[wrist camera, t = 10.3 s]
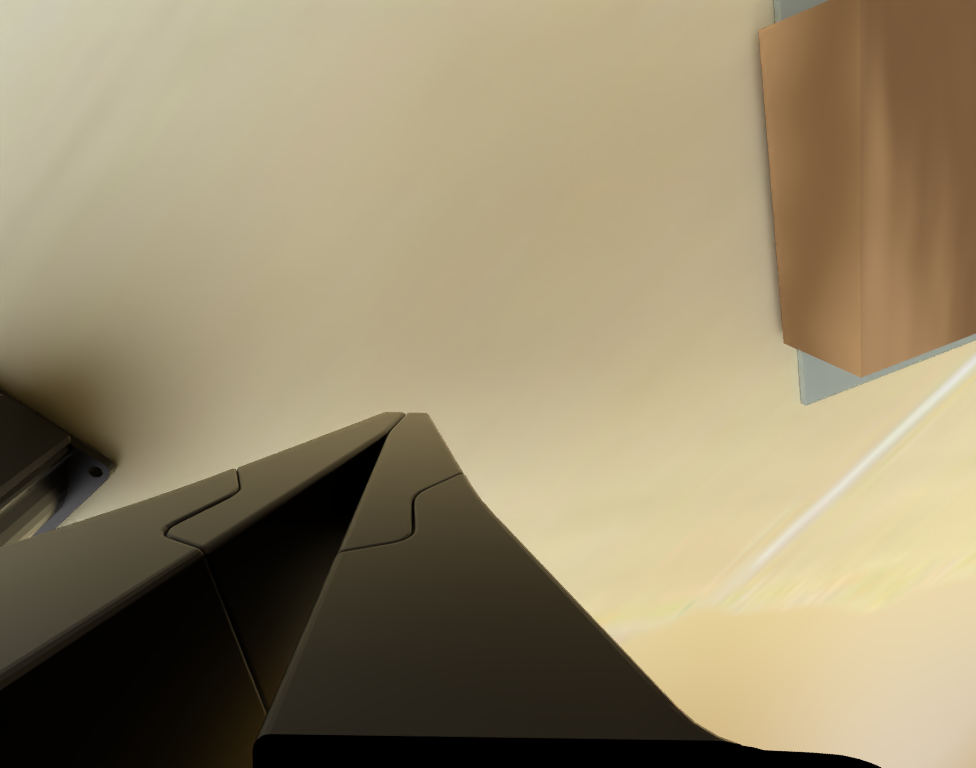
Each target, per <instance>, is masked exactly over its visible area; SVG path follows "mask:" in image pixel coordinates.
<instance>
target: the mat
mask: <svg viewBox="0 0 976 768" xmlns="http://www.w3.org/2000/svg"><path fill="white" fill-rule="evenodd" d="M826 1H828V0H774V10H775V23H777V22H779V21H781V20H784V19H786V18H788V17H791V16H793V15H795V14H798V13H800V12H802V11H805V10H807V9H809V8H812V7H814V6H816V5H819V4H821V3H824V2H826ZM975 340H976V334H973V335H971V336H968V337H966V338H963V339H960V340H958V341H955V342H953V343H950V344H947V345H945V346H942V347H940V348H937V349H934V350H932V351H929V352H927V353H924V354H921V355H919V356H916V357H914V358H911V359H908V360H906V361H903V362H901V363H898V364H895V365H893V366H890V367H888V368H885V369H882V370H880V371H877V372H875V373H872V374H870V375H867V376H864V377H862V378H860V377H858V376H856V375H854V374H852V373H849V372H847V371H845V370H843V369H840V368H838V367H836V366H834V365H831V364H829V363H827V362H825V361H823V360H820V359H818V358H816V357H814V356H811V355H809V354H807V353H805V352H802V351H800V350H798V364H799V379H800V393H801V403H802V404H804V405H805V406H806V405H809V404H812V403H814V402H817V401H819V400H822V399H825V398H827V397H830V396H832V395H835V394H837V393H840V392H843V391H845V390H848V389H850V388H853V387H856V386H858V385H861V384H863V383H866V382H869V381H871V380H874V379H876V378H879V377H882V376H884V375H887V374H889V373H892V372H895V371H897V370H900V369H902V368H905V367H908V366H910V365H913V364H915V363H918V362H920V361H923V360H926V359H928V358H931V357H933V356H936V355H939V354H941V353H944V352H946V351H949V350H952V349H954V348H957V347H959V346H962V345H965V344H967V343H970V342H972V341H975Z"/></svg>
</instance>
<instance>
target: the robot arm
mask: <svg viewBox="0 0 976 768" xmlns="http://www.w3.org/2000/svg"><path fill="white" fill-rule="evenodd" d="M95 467H98V468H100V469H101V470H102V471H103V472H101V471H98V470H97V469H96V468H95ZM114 472H115V465H114V463H113V462H112V461H111V460H110V459H109V458H107V457H105V456H104V455H102V454H101V453H99V452H98V451H96V450H94V449H93V448H91V447H90V446H88V445H87V444H85V443H84V442H82V441H80V440H79V439H77V438H76V437H74V436H73V435H71V434H69V433H68V432H66V431H65V430H63V429H62V428H60V427H59V426H57V425H55V424H54V423H52V422H51V421H49V420H48V419H46V418H44V417H43V416H41V415H40V414H38V413H37V412H35V411H33V410H32V409H30V408H29V407H27V406H26V405H24V404H23V403H21V402H19V401H18V400H16V399H15V398H13V397H12V396H10V395H8V394H7V393H5V392H4V391H2V390H1V389H0V768H881V767H879V766H877V765H874V764H872V763H869V762H866V761H863V760H860V759H856V758H852V757H848V756H843V755H835V754H834V755H833V754H823V753H809V752H789V751H768V750H761V749H758V748H754V747H747V746H742V745H740V744H737V743H735V742H732V741H730V740H727V739H724V738H722V737H719V736H717V735H716V734H714V733H712V732H711V731H709V730H707V729H706V728H704V727H702V726H700V725H699V724H697V723H695V722H694V721H693V720H692V719H691V718H690V717H688V716H687V715H686V714H685V713H684V712H683V711H682V710H681V709H679V708H678V707H677V706H676V705H675V704H674V703H673V702H672V700H670V698H669V697H668V696H667V695H666V694H665V693H664V692H663V691H662V690H661V689H660V688H659V687H658V686H657V685H656V684H655V683H654V682H653V681H652V680H651V678H650V677H649V676H648V675H647V674H646V673H645V672H644V671H643V670H642V669H641V668H640V667H639V666H638V665H637V664H636V663H635V662H634V661H633V660H632V658H631V657H630V656H629V655H628V654H627V653H626V652H625V651H624V650H623V649H622V648H621V647H620V646H619V645H618V644H617V643H616V642H615V641H614V640H613V639H612V637H611V636H610V635H609V634H608V633H607V632H606V631H605V630H604V629H603V628H602V627H601V626H600V625H599V624H598V623H597V622H596V621H595V620H594V619H593V618H592V616H591V615H590V614H589V613H588V612H587V611H586V610H585V609H584V608H583V607H582V606H581V605H580V604H579V603H578V602H577V601H576V600H575V599H574V598H573V597H572V595H571V594H570V593H569V592H568V591H567V590H566V589H565V588H564V587H563V586H562V585H561V584H560V583H559V582H558V581H557V580H556V579H555V578H554V577H553V576H552V574H551V573H550V572H549V571H548V570H547V569H546V568H545V567H544V566H543V565H542V564H541V563H540V562H539V561H538V560H537V559H536V558H535V557H534V556H533V555H532V553H531V552H530V551H529V550H528V549H527V548H526V547H525V546H524V545H523V544H522V543H521V542H520V541H519V540H518V539H517V538H516V537H515V536H514V535H513V534H512V532H511V531H510V530H509V529H508V528H507V527H506V526H505V525H504V524H503V523H502V522H501V521H500V520H499V519H498V518H497V517H496V516H495V515H494V513H493V512H492V511H491V510H490V509H489V508H488V507H487V505H486V504H485V503H484V502H483V501H482V500H481V498H480V497H479V496H478V494H477V493H476V491H475V490H474V488H473V487H472V485H471V484H470V482H469V480H468V479H467V477H466V476H465V475H464V473H463V472H462V470H461V468H460V467H459V465H458V463H457V462H456V460H455V458H454V456H453V455H452V453H451V451H450V450H449V448H448V446H447V445H446V443H445V441H444V440H443V438H442V436H441V435H440V433H439V431H438V430H437V428H436V426H435V425H434V423H433V421H432V420H431V418H430V416H429V415H428V414H427V413H407V414H404V413H402V412H385V413H382V414H379V415H377V416H374V417H371V418H369V419H366V420H363V421H361V422H358V423H355V424H353V425H350V426H347V427H345V428H342V429H340V430H337V431H334V432H332V433H329V434H326V435H324V436H321V437H318V438H316V439H313V440H310V441H308V442H305V443H302V444H300V445H297V446H294V447H292V448H289V449H286V450H284V451H281V452H279V453H276V454H273V455H271V456H268V457H265V458H263V459H260V460H257V461H255V462H252V463H249V464H247V465H244V466H241V467H239V468H238V469H237V471H236V469H231V470H228V471H226V472H223V473H220V474H218V475H215V476H212V477H210V478H207V479H204V480H201V481H198V482H196V483H193V484H190V485H187V486H185V487H182V488H179V489H176V490H173V491H170V492H167V493H164V494H161V495H158V496H155V497H152V498H150V499H147V500H144V501H141V502H138V503H135V504H132V505H129V506H126V507H122V508H119V509H116V510H113V511H110V512H107V513H104V514H101V515H98V516H95V517H92V518H89V519H85V520H82V521H79V522H76V523H73V524H70V525H67V526H64V527H61V528H58V529H55V528H56V527H58V526H59V525H60V524H61V523H62V522H63V521H64V520H65V519H66V518H67V517H68V516H69V515H70V514H71V513H72V512H73V511H75V510H76V509H77V508H78V507H79V506H80V505H81V504H82V503H83V502H84V501H85V500H86V499H87V498H88V497H89V496H90V495H91V494H93V493H94V492H95V491H96V490H97V489H98V488H99V487H100V486H101V485H102V484H103V483H104V482H105V481H106V480H107V479H108V478H109V477H110V476H111V475H112V474H113V473H114ZM54 529H55V530H54Z"/></svg>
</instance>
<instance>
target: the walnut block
mask: <svg viewBox="0 0 976 768" xmlns="http://www.w3.org/2000/svg"><path fill="white" fill-rule="evenodd" d="M759 41H760V53H761V66H762V78H763V91H764V103H765V116H766V128H767V140H768V153H769V165H770V178H771V190H772V203H773V215H774V227H775V240H776V252H777V265H778V277H779V290H780V302H781V315H782V327H783V339H784V343H785V344H787V345H789V346H791V347H794V348H796V349H798V350H800V351H802V352H805V353H807V354H809V355H811V356H814V357H816V358H818V359H820V360H823V361H825V362H827V363H829V364H831V365H834V366H836V367H838V368H840V369H843V370H845V371H847V372H849V373H852V374H854V375H856V376H858V377H860V378H862V377H864V376H867V375H870V374H872V373H875V372H877V371H880V370H882V369H885V368H888V367H890V366H893V365H895V364H898V363H901V362H903V361H906V360H908V359H911V358H914V357H916V356H919V355H921V354H924V353H927V352H929V351H932V350H934V349H937V348H940V347H942V346H945V345H947V344H950V343H953V342H955V341H958V340H960V339H963V338H966V337H968V336H971V335H973V334H976V0H828V1H826V2H824V3H821V4H819V5H816V6H814V7H812V8H809V9H807V10H805V11H802V12H800V13H798V14H795V15H793V16H791V17H788V18H786V19H784V20H781V21H779V22H777V23H774V24H772V25H770V26H767V27H765V28H763V29H760V30H759Z"/></svg>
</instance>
